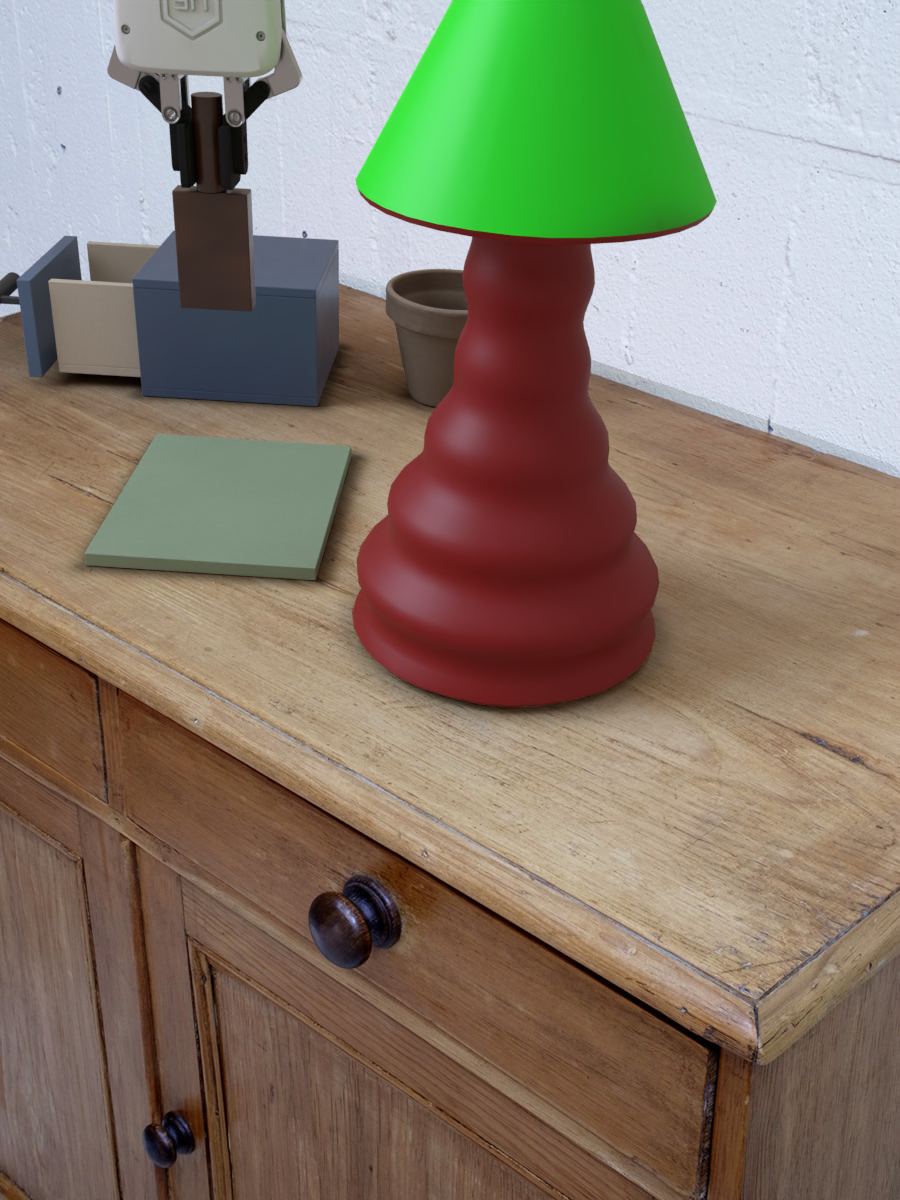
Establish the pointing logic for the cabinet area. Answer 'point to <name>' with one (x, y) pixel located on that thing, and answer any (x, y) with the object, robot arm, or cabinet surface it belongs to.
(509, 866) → the cabinet surface
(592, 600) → the table lamp
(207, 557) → the mat
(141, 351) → the cabinet
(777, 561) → the cabinet surface
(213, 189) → the paddle
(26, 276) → the drawer
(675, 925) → the cabinet surface
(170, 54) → the robot arm
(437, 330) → the flower pot
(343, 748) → the cabinet surface
